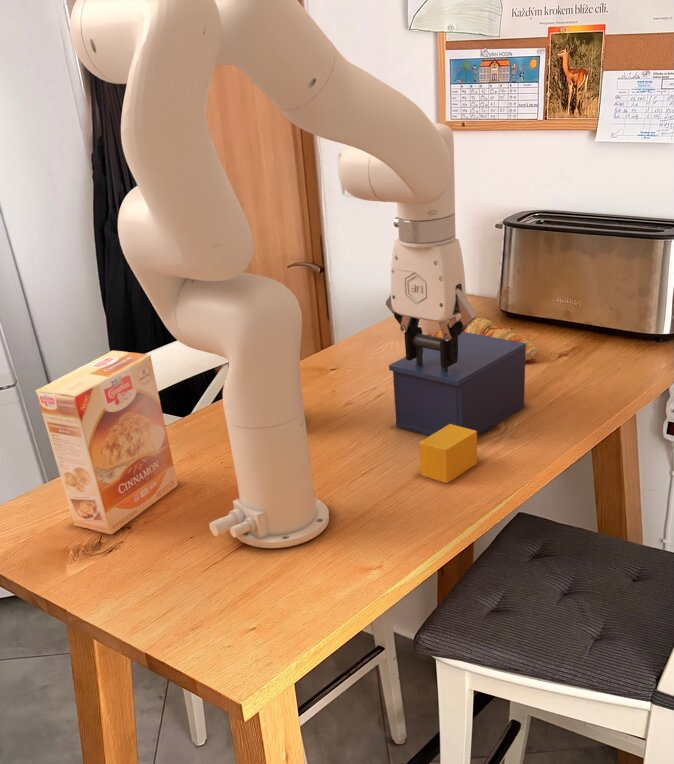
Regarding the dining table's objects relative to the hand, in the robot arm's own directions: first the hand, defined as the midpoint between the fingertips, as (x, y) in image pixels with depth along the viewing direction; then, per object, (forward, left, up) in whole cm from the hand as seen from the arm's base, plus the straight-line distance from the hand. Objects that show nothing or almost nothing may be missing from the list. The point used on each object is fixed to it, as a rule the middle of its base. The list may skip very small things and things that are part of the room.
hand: (431, 360), depth 131 cm
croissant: (+28, +16, -11) cm, 34 cm away
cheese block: (-7, -10, -11) cm, 17 cm away
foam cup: (+33, +35, -11) cm, 49 cm away
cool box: (+7, +1, -11) cm, 13 cm away
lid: (+6, +1, -2) cm, 7 cm away
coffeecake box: (-43, +17, -11) cm, 48 cm away
